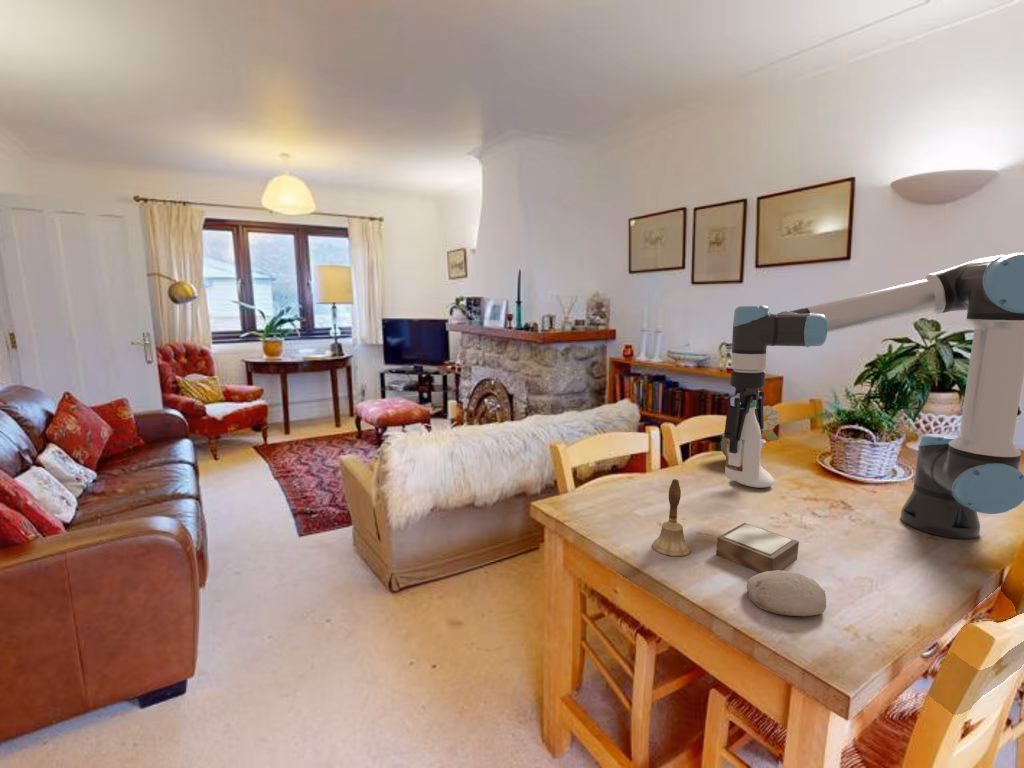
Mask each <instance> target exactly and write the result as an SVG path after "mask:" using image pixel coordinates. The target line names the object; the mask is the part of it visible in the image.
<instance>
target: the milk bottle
mask: <svg viewBox="0 0 1024 768" xmlns="http://www.w3.org/2000/svg"><path fill="white" fill-rule="evenodd" d="M750 407H751V408H749V412H748V413H747V414H746V416H745V420H744V424H743V428H742V432H741V436H740V440H742V447H741V465H740V467H737V466H733V465H729V464H728V458H729V439H727V447H726V456H725V467H724V468H725V470H724V471H725V472H724V473H725V476H726V478H727V479H728V480H731V481H734V482H737V481H738V482H737V483H739V482H755V481H757V480H758V479H759V470H760V465H761V451H762V448H761V436H762V434H761V430H760V426H759V424H758V421H757V419H756V416H755V409H756V400H752V403H750ZM740 409H744V408H740Z"/></svg>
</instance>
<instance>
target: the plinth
mask: <svg viewBox="0 0 1024 768" xmlns="http://www.w3.org/2000/svg"><path fill="white" fill-rule="evenodd" d="M799 546H800V542H799V541H798V540H796V539H792V538H790V537H787V536H784V535H781V534H779V533H775V532H773V531H770V530H767V529H765V528H761V527H758V526H755V525H752V524H750V523H746V522H743V523H741V524H739V525H738V526H736V527H734V528H732V529H730V530H728V531H727V532H724V533H723V534H720V535H718V537H717V539H716V555H717V556H719V557H722V558H723V559H724V558H725V559H726V560H729V561H731V562H733V563H735V564H738V565H741V566H743V567H746V568H748V569H750V570H753V571H755V572H758V573H763V572H766V571H775V570H782V571H783V570H784V569H785V568H786V567H788V566H790V565H791V564H792V563H793V562H794V561H796V560H797V559H798V553H799Z"/></svg>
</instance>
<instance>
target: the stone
mask: <svg viewBox="0 0 1024 768" xmlns="http://www.w3.org/2000/svg"><path fill="white" fill-rule="evenodd" d="M746 591H747V595H748V597H749V599H750V600H751V602H752V603H754V605H756V607H758V608H759V609H762V610H764V611H767V612H770V613H773V614H778V615H782V616H783V615H784V616H794V617H795V616H796V617H809V616H815V615H816V616H817V615H821V614H823V613H824V612H825V611H826V608H827V596H826V591H825V590H824V588H823V587H822V586H821V585H820V584H819V583H818V582H817V581H816V580H815V579H813V578H812V577H809V576H806V575H804V574H801V573H797V572H794V571H793V572H792V571H789V570H783V569H782V570H775V571H766V572H763V573H760V572H758V573H757V574H755V575H753V576H751V577H750V578H748V580H747V582H746Z"/></svg>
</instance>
